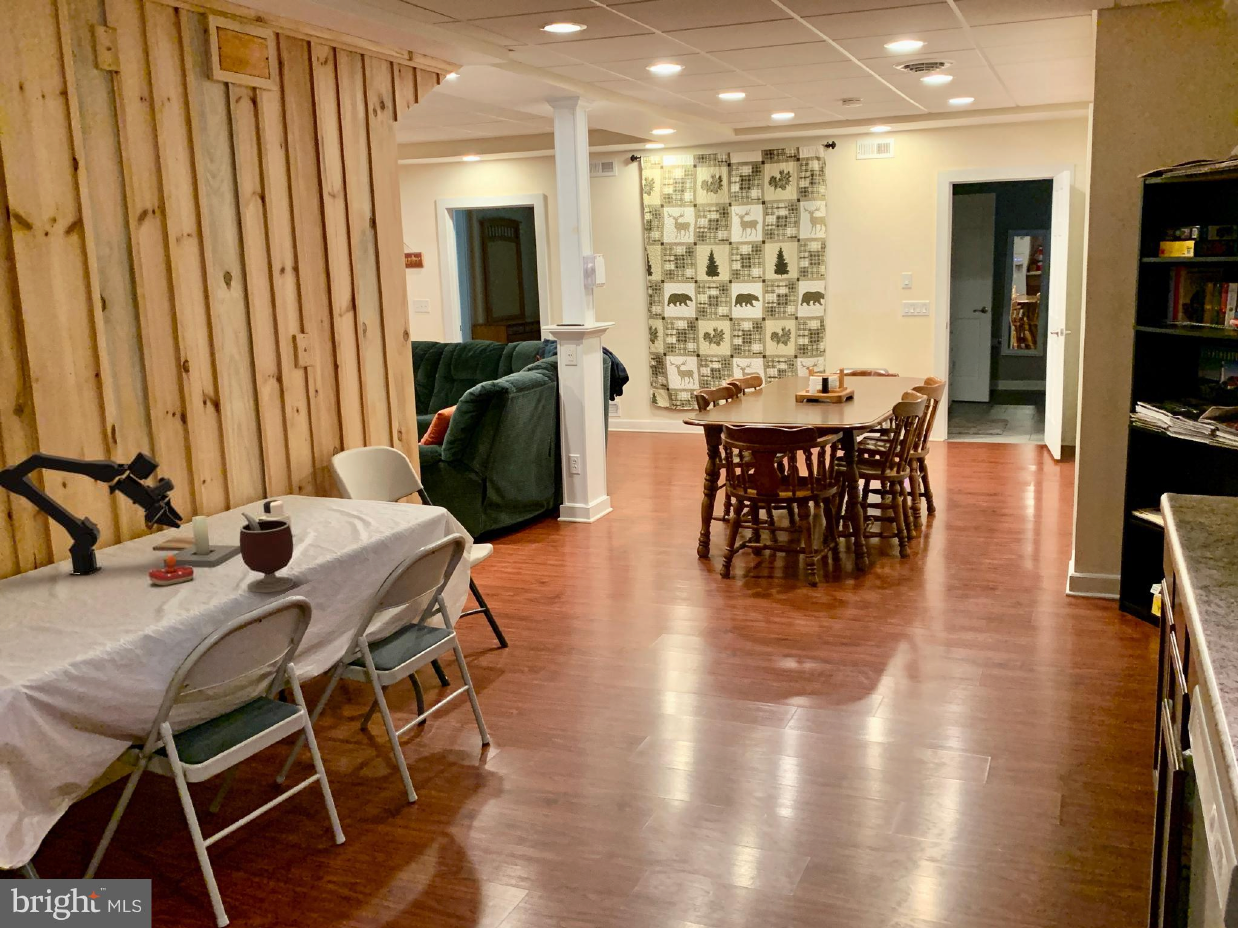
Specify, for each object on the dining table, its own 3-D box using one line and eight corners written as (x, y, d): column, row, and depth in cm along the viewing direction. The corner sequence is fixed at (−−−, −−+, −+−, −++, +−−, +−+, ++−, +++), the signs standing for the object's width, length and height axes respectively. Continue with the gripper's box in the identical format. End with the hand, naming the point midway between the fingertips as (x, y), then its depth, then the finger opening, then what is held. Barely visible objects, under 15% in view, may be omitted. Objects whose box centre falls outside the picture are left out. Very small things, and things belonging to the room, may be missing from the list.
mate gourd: (307, 581, 299) (301, 512, 295) (268, 596, 287) (261, 523, 283) (268, 574, 307) (262, 506, 303) (229, 588, 295) (221, 518, 291)
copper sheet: (187, 550, 334) (187, 547, 334) (152, 550, 336) (152, 547, 336) (208, 540, 346) (208, 537, 346) (174, 539, 348) (174, 536, 348)
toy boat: (146, 583, 303) (143, 557, 301) (188, 574, 310) (185, 549, 308) (155, 589, 297) (151, 563, 295) (197, 580, 304) (194, 554, 302)
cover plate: (214, 567, 316) (213, 560, 315) (164, 566, 318) (163, 559, 318) (241, 551, 331) (240, 545, 331) (193, 550, 334) (193, 544, 333)
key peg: (206, 560, 323) (201, 519, 320) (194, 560, 323) (189, 518, 321) (213, 557, 326) (208, 515, 324) (201, 556, 327) (196, 515, 324)
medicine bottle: (260, 539, 346) (256, 502, 343) (276, 533, 352) (273, 498, 349) (276, 541, 342) (272, 504, 340) (292, 535, 349) (289, 499, 346)
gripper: (151, 477, 307) (197, 510, 313) (157, 465, 325) (200, 496, 330) (125, 506, 306) (171, 539, 312) (132, 493, 324) (176, 524, 329)
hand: (181, 523), depth 321 cm, fingers open, 9 cm apart
